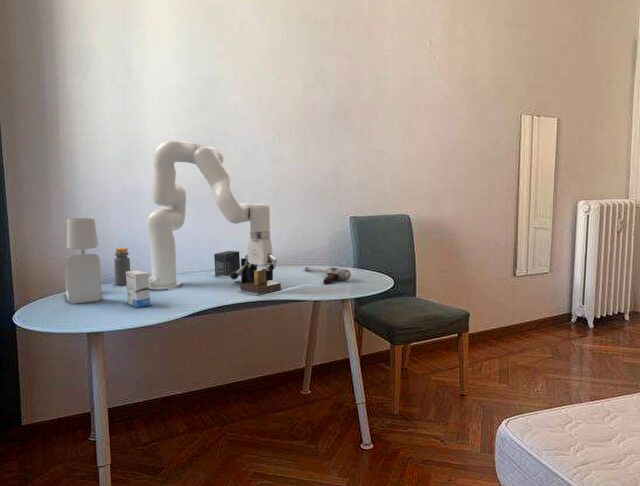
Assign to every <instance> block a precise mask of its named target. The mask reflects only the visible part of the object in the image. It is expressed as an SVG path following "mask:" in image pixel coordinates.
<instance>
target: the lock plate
mask: <svg viewBox="0 0 640 486" xmlns="http://www.w3.org/2000/svg"><path fill="white" fill-rule="evenodd" d="M281 288H282V283H281V282H279V281H273V280H270V281H267V283H264V284H260V285H256V284H254V282H250V283H246V284H240V291H243V292H248V293H252V294H256V296H257V297H258V296H263V295H267V294H272V293H276V292H280V291H281Z"/></svg>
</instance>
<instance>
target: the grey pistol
mask: <svg viewBox="0 0 640 486" xmlns="http://www.w3.org/2000/svg"><path fill="white" fill-rule="evenodd" d="M304 271H307V272H315V273H316V272H317V273H323V274H325V275H326V276H325V278H324V279H323V284H325V285H326V284H327V285H328V284H331V283H332V281H334V280H341V281H347V280H349V279H350V278H351V277H352V273H351V271H350V270H349V269H346V268H341V267H328V268H326V269H319V268H313V267H310V266H306V267H304Z"/></svg>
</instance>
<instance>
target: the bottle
mask: <svg viewBox="0 0 640 486" xmlns="http://www.w3.org/2000/svg"><path fill="white" fill-rule="evenodd" d="M128 249H129V248H128V247H117V248H116V247H115V253H114V255H115V257H116V258H114V262H113V263H114V280H115V281H114V282H115V285H116V286H127V283H126V272H127V271H131V260H130V258H129V257H128V256H129V252H128Z"/></svg>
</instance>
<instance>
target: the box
mask: <svg viewBox="0 0 640 486" xmlns="http://www.w3.org/2000/svg"><path fill="white" fill-rule="evenodd" d="M213 258H214V260H213V261H214V276H215V277H227V276H230V274H231V273H232V272H236V271H238V270H239V269H240V268H241V257H240V251H238V250H225V251H223V252H217V253H214V254H213Z"/></svg>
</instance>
